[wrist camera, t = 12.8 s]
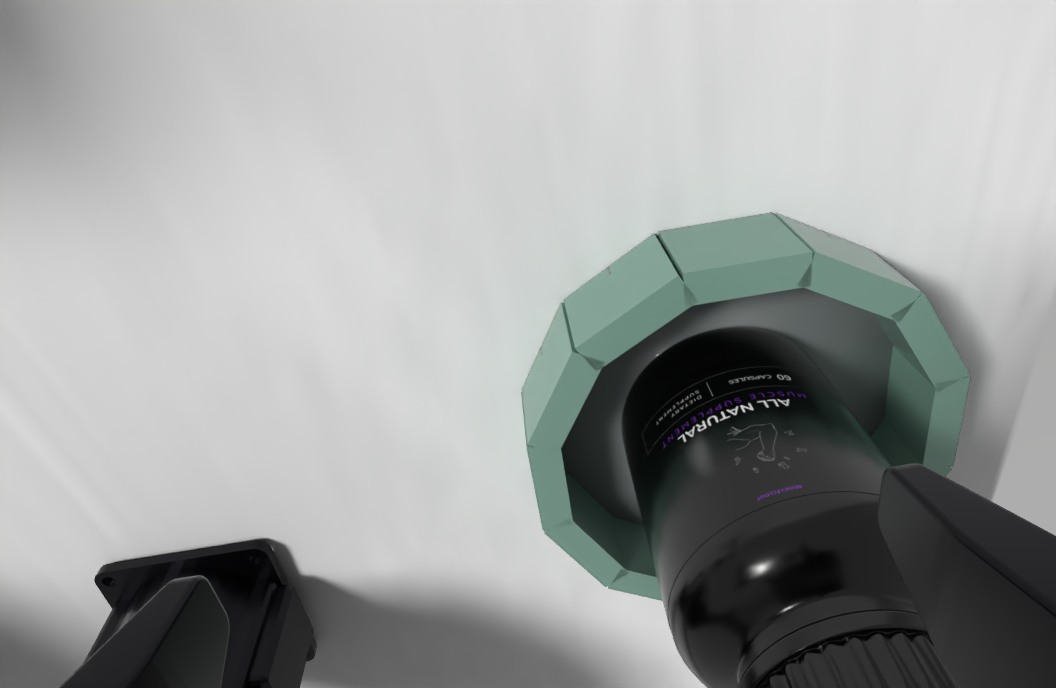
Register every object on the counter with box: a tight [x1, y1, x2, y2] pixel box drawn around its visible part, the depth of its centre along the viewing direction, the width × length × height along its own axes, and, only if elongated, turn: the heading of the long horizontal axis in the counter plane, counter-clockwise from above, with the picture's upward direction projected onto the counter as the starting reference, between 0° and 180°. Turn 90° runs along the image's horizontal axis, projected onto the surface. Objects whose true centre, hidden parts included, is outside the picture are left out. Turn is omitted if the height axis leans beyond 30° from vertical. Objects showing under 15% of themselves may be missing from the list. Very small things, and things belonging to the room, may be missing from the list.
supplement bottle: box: [621, 327, 959, 688], centre depth 19 cm, size 7×7×12 cm
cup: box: [521, 213, 971, 601], centre depth 23 cm, size 13×13×3 cm
